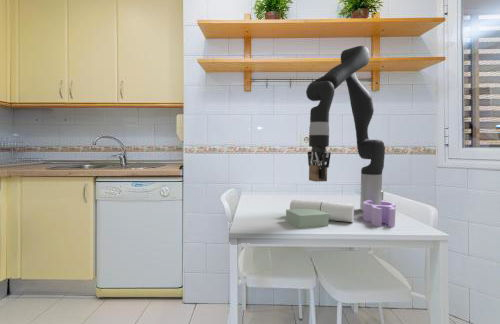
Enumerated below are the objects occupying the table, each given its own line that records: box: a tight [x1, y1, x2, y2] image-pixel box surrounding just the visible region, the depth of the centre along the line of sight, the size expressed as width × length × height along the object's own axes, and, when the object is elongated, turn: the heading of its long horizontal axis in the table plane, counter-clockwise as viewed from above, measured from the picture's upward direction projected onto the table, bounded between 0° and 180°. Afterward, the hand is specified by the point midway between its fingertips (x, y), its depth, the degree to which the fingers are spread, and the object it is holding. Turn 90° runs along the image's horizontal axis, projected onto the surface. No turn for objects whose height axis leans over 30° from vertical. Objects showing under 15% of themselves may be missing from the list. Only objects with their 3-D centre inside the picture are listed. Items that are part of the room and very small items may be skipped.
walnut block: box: [308, 164, 328, 182], centre depth 123 cm, size 5×5×6 cm
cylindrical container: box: [289, 199, 355, 223], centre depth 132 cm, size 7×7×25 cm
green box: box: [285, 208, 330, 229], centre depth 125 cm, size 12×12×5 cm
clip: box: [362, 200, 396, 228], centre depth 130 cm, size 20×12×7 cm, turn 169°
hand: (317, 178), depth 124 cm, fingers closed on walnut block, 5 cm apart
